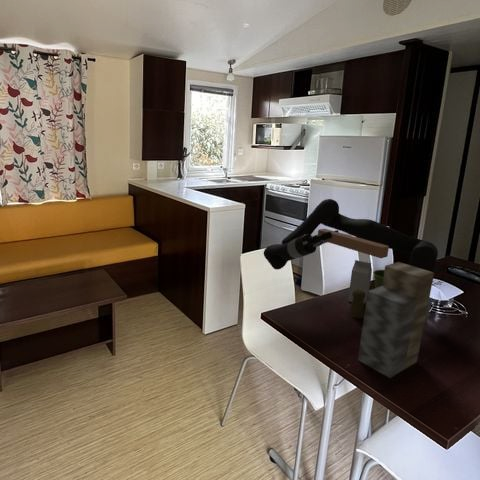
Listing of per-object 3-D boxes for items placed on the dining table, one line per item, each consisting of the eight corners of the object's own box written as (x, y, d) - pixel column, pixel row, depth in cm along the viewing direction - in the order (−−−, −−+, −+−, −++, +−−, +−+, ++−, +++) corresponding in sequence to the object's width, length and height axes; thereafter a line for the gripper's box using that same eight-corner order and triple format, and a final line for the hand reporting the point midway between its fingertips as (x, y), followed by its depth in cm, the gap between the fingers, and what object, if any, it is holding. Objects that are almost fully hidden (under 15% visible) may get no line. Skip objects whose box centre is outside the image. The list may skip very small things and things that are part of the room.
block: (317, 239, 138) (318, 229, 137) (323, 237, 140) (324, 228, 139) (381, 258, 118) (382, 247, 118) (387, 256, 121) (389, 246, 120)
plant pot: (374, 289, 190) (377, 267, 187) (399, 295, 184) (402, 273, 181) (366, 296, 181) (369, 274, 178) (392, 303, 174) (396, 280, 171)
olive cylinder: (364, 319, 158) (367, 294, 155) (349, 317, 159) (352, 292, 156) (362, 312, 163) (366, 288, 160) (348, 311, 164) (351, 287, 162)
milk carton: (363, 305, 171) (369, 265, 166) (347, 301, 174) (352, 262, 169) (367, 300, 176) (373, 261, 171) (352, 296, 180) (357, 258, 175)
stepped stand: (357, 360, 128) (370, 270, 119) (384, 346, 137) (398, 261, 129) (390, 378, 119) (406, 282, 110) (416, 362, 128) (433, 272, 120)
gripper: (285, 239, 144) (318, 225, 130) (311, 235, 152) (344, 221, 139) (291, 258, 143) (324, 246, 129) (316, 253, 151) (350, 241, 137)
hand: (334, 233), depth 134 cm, fingers closed on block, 3 cm apart
